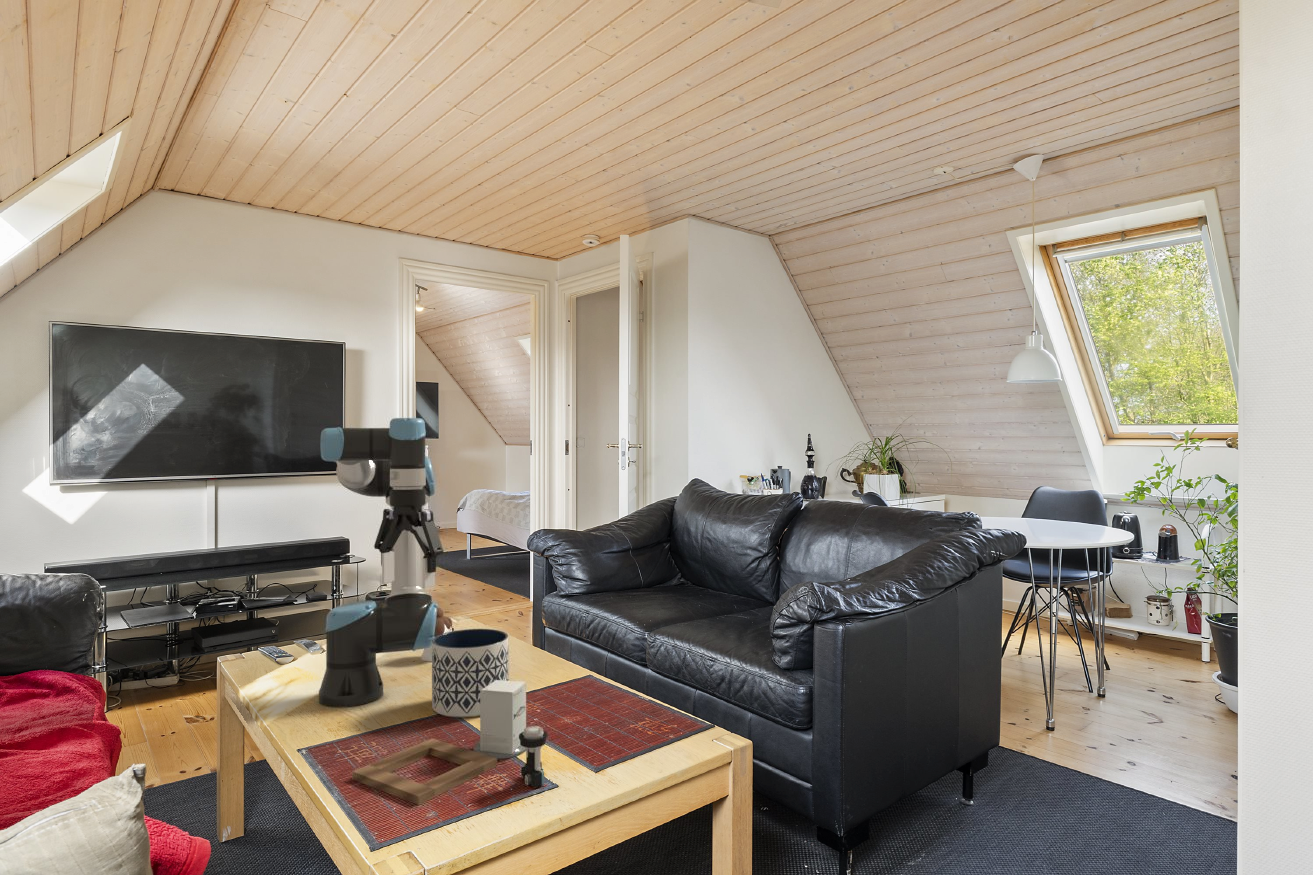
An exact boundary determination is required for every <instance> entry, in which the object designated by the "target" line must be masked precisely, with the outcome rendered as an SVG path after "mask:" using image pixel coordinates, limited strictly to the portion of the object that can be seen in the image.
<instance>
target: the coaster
mask: <svg viewBox="0 0 1313 875" xmlns="http://www.w3.org/2000/svg"><path fill="white" fill-rule="evenodd" d="M473 751H475V752H478V753H481V754H484V755H488V756H491V757H494V758H497V761H498V760H499V761H500V760H507V759H511V758H515V757H518V756H521V755H522V754H524V753H526V748H525V747H523V746H521V745H520V746H519V747H518V748H517V749H516V750H515V751H514V752H513V753H512V754H503V753H493V752H484V751H480V741H478V742H476V743H475V745H474V746H473Z"/></svg>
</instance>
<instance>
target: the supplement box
mask: <svg viewBox="0 0 1313 875" xmlns="http://www.w3.org/2000/svg"><path fill="white" fill-rule="evenodd" d="M479 719H480V720H479V721H480V722H479V726H480V728H479V729H480V730H479V737H480V738H479V742H480V751H484V752H493V753H503V754H512V753H513V752H514V751H515V750H516V749H517V748H518V747H519V746H520V739H519V734H520V733H522V732H524V729H525V728H526V727H527V682H526V681H520V680H519V681H516V680H509V681H502V680H495V681H494V682H492V683H491V684H489V685H488V686H487V687H485V688H484V689H482V690H481V691H480V716H479Z"/></svg>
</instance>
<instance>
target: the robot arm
mask: <svg viewBox="0 0 1313 875" xmlns="http://www.w3.org/2000/svg"><path fill="white" fill-rule="evenodd" d="M426 433H427V431H426V422H425V420H424V419H423V418H421V417H420V418H419V417H395V418H391V420H390V421H389V427H340V426H337V427H329V428H324V429H322V431H321V434H320V457H321V459H322V460H323V461H325V462H334V463H336V465H337V466H336V470H335V473H336V477H337V479H338V482H339V483H340V484H341V486H343V487H344V488H346V489H347V490H349V491H351V492H353V493H355V494H358V495H361V496H365V497H372V498H373V497H375V498H376V497H377V498H381V497H385V504H386V505H387V506H389V507H390V508H384V509H383V512H382V520H381V524H380V525H379V526H380V527H379V529H378V533H377V536H376V538H375V542H374V546H373V548H374V549H375V550H378V551H379V552H380V565H381V582H382V583H390V584H391V585H390V586H391V587H390V589H391V591H390V593H389V594H388V595H387V597H385V598H384V605H383V606H382V605H381V606H377V603H376V601H375V600H359V601H357V600H356V601H353V602H348V603H345V604H342V605H338V606H336V607H334V608H332V609H330V611H328V613H327V614H326V623H325V625H326V626H325V630H324V631H325V632H326V634H325V635H326V636H325V637H326V641H325V643H326V647H325V649H326V651H325V652H326V654H325V657H326V658H325V660H326V662H325V664H326V666H325V672H324V676H323V678H322V682H321V686H320V688H319V690H318V702H319V704H320V705H322V706H326V707H333V708H345V707H354V706H359V705H364V704H368V703H371V702H373V701H376V700H378V699H380V698H381V697H382V696H383V695H384V682H383V680H382V678H381V674H380V672H379V668H378V665H377V654H383V653H384V654H387V653H397V652H406V651H413V652H415V651H418V650H424V649H426V648H429V647H430V646H431V645H432V640H433V639H434V632H435V624H436V615H437V608H438V605H439V604H438V602H436V601H432V600H433V599H432V595H431V594H430V592H428V591H427V590H426V589H430V588H435V587H436V571H437V557H438V556H440V555H443V554H444V552H445V551H444V548H443V544H442V542H441V539H440V536H439V533H438V530H437V527H436V525H435V521H434V520H435V519H434V512H433V510H425V506H427V504H428V503H429V502H430V499H431V498H430V497H431V496H434V495H435V493H436V492H435V491H436V487H435V486H436V485H435V479H434V478H435V477H434V471H433V465H432V461H431V459H430V457H429V456H427V455H426V435H427V434H426Z"/></svg>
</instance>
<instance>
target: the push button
mask: <svg viewBox="0 0 1313 875" xmlns="http://www.w3.org/2000/svg"><path fill="white" fill-rule="evenodd" d="M548 734H549V733H548V732H547V731H546V730H544V728H543V727H542V726H538V725H530V726H526V728H525V729H524V732H522V733H520V734H519V739H520V745H521V746H523V747H525V748H526V751H525V764H524V766H522V767H520V768H519V770H520V771H521V772H520V773H519V775H520V776H522V780H523V782H524V784H525V785H526V786H528V785H530V786H531V788H532V789H537V788H540V787H543V786H544V785H545V772H544V769H543V765H542V761H541V752H542V751H541V748H542V747H543V746H545V745H546V743H547V738H548V736H549V735H548Z"/></svg>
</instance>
